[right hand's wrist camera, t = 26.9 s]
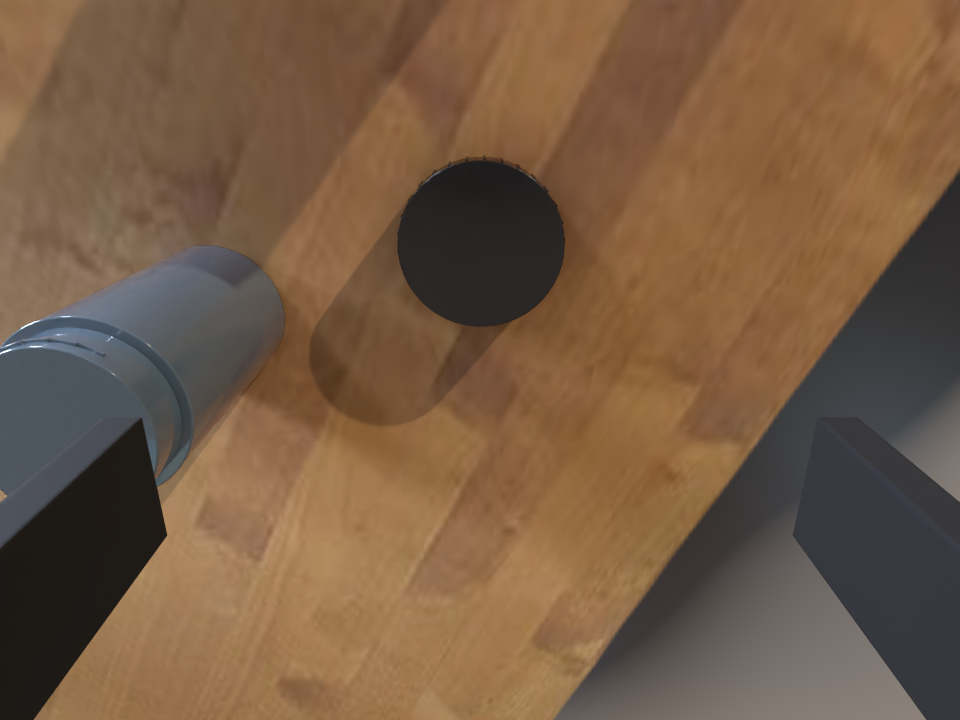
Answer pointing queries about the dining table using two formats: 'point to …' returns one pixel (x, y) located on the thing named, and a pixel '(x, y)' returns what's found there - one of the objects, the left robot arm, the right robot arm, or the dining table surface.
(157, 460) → the jar
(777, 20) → the dining table surface
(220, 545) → the dining table surface
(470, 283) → the lid
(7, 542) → the right robot arm
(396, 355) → the dining table surface
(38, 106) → the dining table surface
